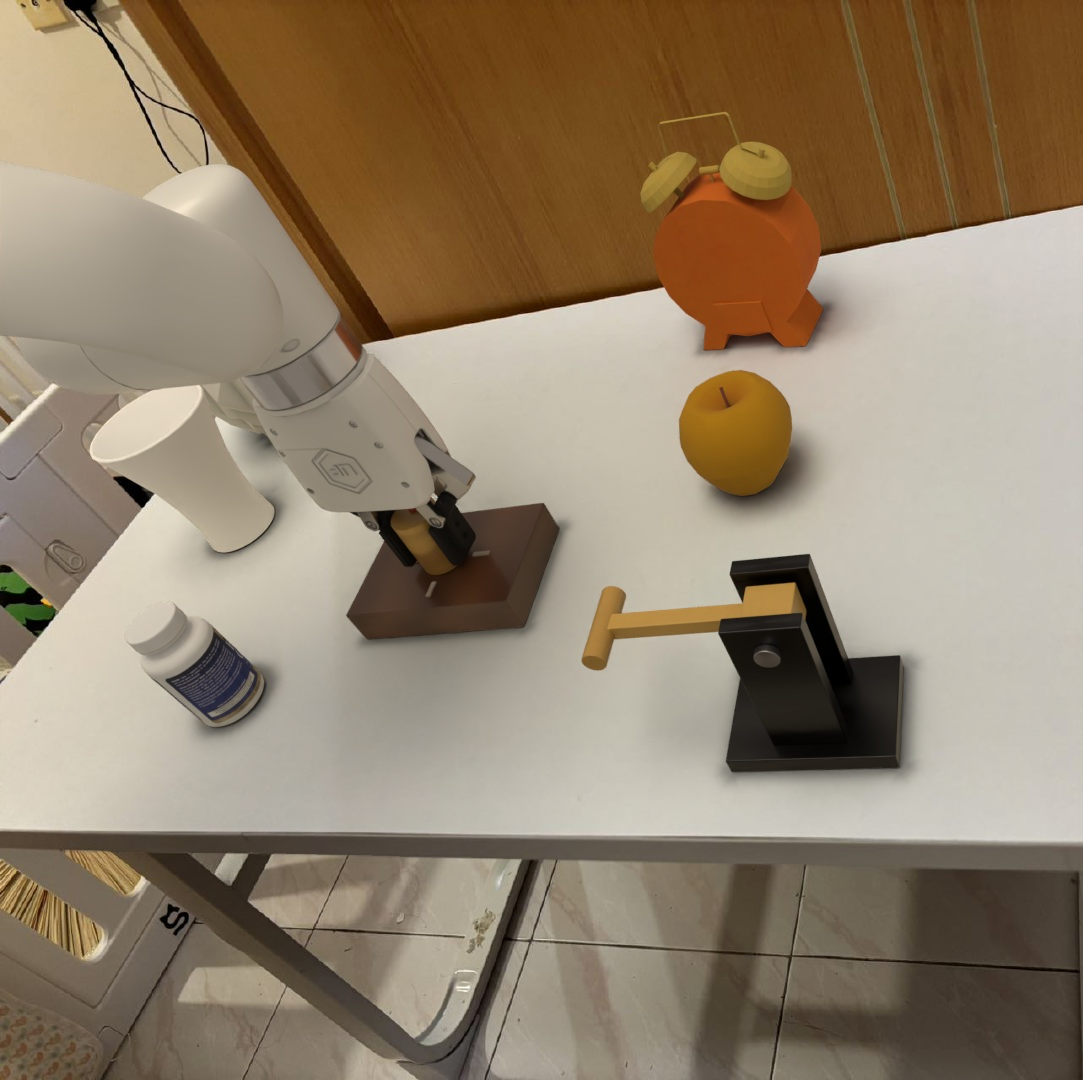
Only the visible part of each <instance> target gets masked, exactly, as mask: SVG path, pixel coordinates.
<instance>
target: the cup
mask: <svg viewBox="0 0 1083 1080" xmlns="http://www.w3.org/2000/svg"><path fill="white" fill-rule="evenodd" d="M89 455H90V457H91V459H92V460H93V461H94V462H97V463H98V464H100V465H102V466H105V467H106V468H108V469H110V470H111V471H113V472H116V473H117V474H119V475H121V476H123V477H125V478H126V479H127V480H130V481H132V482H133V483H135V484H137V485H139V486H140V487H142V488H144V489H146V490H147V491H149V492H151V493H153V494H155V495H156V496H157V497H159V498H160V499H161V500H163V501H164V502H166V503H167V504H168V505H169V506H170V507H172V508H174V510H177V511H178V512H179V513H180V514H181V515H182V516H183V517H184V518H185V519H186V520H187V521H188V522H190V523H191V524H192V525H193V526H194V527H195V528H196V529H197V530H198V531H199V533H201V535H202V536H203V537H204V539H205V541H206V542H207V543H208V544H209V546H210V547H211V548H212V550H213V551H215V552H217V553H229V552H234V551H237V550H240V549H242V548H244V547H245V546H248V545H249V544H251V543H253V541H255V540H257V539H258V538H259V537H260V536H261V535H262V534H264V532H265V531H266V530H267V529H268V528H269V526H270V525H271V523H272V521H273V520H274V517H275V514H276V513H275V507H274V505H273V504H272V503H270V502H269V501H268V500H267V499H266V497H264V496H263V495H262V494H261V493H260V492H259V491H258V490H257V489H256V488H255V487H253V484H251V483H250V481H249V480H248V479H247V477H246V476H245V475H244V473H243V472H242V471H241V468H240V467H239V466H238V464H237V462H236V461H235V459H234V458H233V456H232V454H231V452H230V450H229V448H228V447H227V445H226V443H225V440H224V438H223V436H222V433H221V430H220V428H219V425H218V424H217V421H216V419H215V415H213V414H212V411H211V409H210V406H209V404H208V401H207V398H206V396H205V393H204V391H203V389H202V387H201V386H200V385H194V386H184V387H174V388H164V389H159V390H151V391H147V392H145V393H144V394H142V395H140V396H138V397H136V399H133V400H132V401H130V402H129V403H127V404H126V405H125V406H123V407H122V408H121V409H119V410H118V411H117V412H115V413H114V414H113V415H112V416H111V417H110V418H109V419H108V420H107V421H106V422H105V423H104V424H103V425H102V426H101V427H100V429H99V430H98V431H97V432H96V433H95V435H94V437H93V439H92V441H91V443H90V446H89Z"/></svg>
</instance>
